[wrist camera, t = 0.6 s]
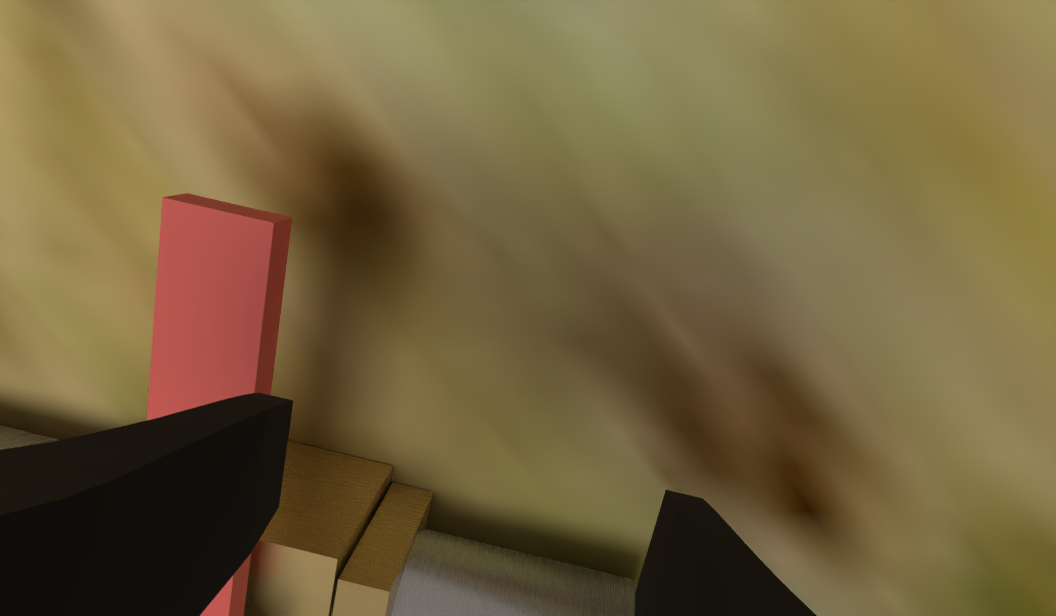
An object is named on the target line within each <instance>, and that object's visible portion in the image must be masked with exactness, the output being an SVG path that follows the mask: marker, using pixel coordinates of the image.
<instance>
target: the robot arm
mask: <svg viewBox="0 0 1056 616" xmlns="http://www.w3.org/2000/svg"><path fill="white" fill-rule="evenodd" d="M292 405H293V401H292V400H288V399H284V398H280V397H275V396H271V395H267V394H263V393H259V392H258V393H251V394H245V395H240V396H236V397H232V398H228V399H224V400H220V401H217V402H213V403H209V404H206V405H202V406H199V407H195V408H191V409H188V410H184V411H181V412H177V413H173V414H170V415H166V416H163V417H159V418H155V419H151V420H147V421H143V422H139V423H135V424H131V425H127V426H122V427H118V428H114V429H110V430H106V431H102V432H97V433H93V434H89V435H84V436H79V437H74V438H69V439H64V440H58V441H53V442H47V443H41V444H34V445H28V446H22V447H16V448H9V449H1V450H0V616H200V615H201V614H202V612H203V611H204V610H205V609H206V608H207V606H208V605H209V604H210V603H211V602H212V600H213V599H214V598H215V597H216V596H217V594H218V593H219V592H220V591H221V589H222V588H223V587H224V586H225V585H226V583H227V582H228V581H229V580H230V578H231V577H232V576H233V575H234V574H235V572H236V571H237V570H238V569H239V567H240V566H241V565H242V564H243V562H244V561H245V560H246V559H247V557H248V556H249V555H250V553H251V552H252V550H253V549H254V547H255V545H256V544H257V542H258V541H259V539H260V538H261V536H262V534H263V533H264V531H265V530H266V528H267V526H268V524H269V523H270V521H271V519H272V518H273V516H274V514H275V513H276V511H277V509H278V508H279V503H280V496H281V488H282V481H283V473H284V466H285V458H286V450H287V443H288V435H289V428H290V420H291V412H292ZM634 616H817V615H816V614H814V613H813V612H812V611H811V610H810V609H809V608H808V607H807V606H806V605H805V604H804V603H803V602H802V601H801V600H800V599H799V598H798V597H797V596H796V595H794V594H793V593H792V592H791V591H790V590H789V589H788V588H787V587H786V586H785V585H784V584H783V583H782V582H781V581H780V580H779V579H778V578H777V577H776V576H775V575H774V574H773V573H772V572H771V570H770V569H769V568H768V567H767V566H766V565H765V564H764V563H763V562H762V561H761V560H760V559H759V558H758V557H757V556H756V555H755V554H754V552H753V551H752V550H751V549H750V548H749V547H748V546H747V545H746V544H745V543H744V542H743V540H742V539H741V538H740V537H739V536H738V535H737V534H736V533H735V532H734V531H733V529H732V528H731V527H730V526H729V525H728V524H727V523H726V522H725V521H724V520H723V518H722V517H721V516H720V515H719V514H718V513H717V512H716V511H715V510H714V509H713V508H712V507H711V506H710V505H709V504H708V503H707V502H706V501H705V500H704V499H702V498H698V497H694V496H690V495H686V494H681V493H677V492H673V491H669V490H666V491H665V495H664V498H663V501H662V505H661V508H660V512H659V515H658V518H657V522H656V525H655V528H654V532H653V535H652V538H651V542H650V545H649V548H648V552H647V555H646V558H645V562H644V565H643V568H642V572H641V575H640V578H639V582H638V585H637V588H636V592H635V612H634Z"/></svg>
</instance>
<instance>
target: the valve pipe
mask: <svg viewBox="0 0 1056 616" xmlns="http://www.w3.org/2000/svg"><path fill="white" fill-rule="evenodd" d="M58 440H59V439H55V438H50V437H46V436H42V435H38V434H34V433H30V432H26V431H22V430H18V429H13V428H9V427H5V426H1V425H0V450H1V449H9V448H16V447H22V446H28V445H34V444H41V443H47V442H53V441H58ZM392 468H393V466H391V465H387V464H383V463H379V462H375V461H371V460H367V459H362V458H358V457H354V456H350V455H346V454H342V453H337V452H333V451H329V450H325V449H321V448H317V447H313V446H308V445H304V444H300V443H296V442H292V441H288V443H287V450H286V458H285V466H284V473H283V481H282V488H281V496H280V503H279V508H278V509H277V511H276V513H275V514H274V516H273V518H272V519H271V521H270V523H269V524H268V526H267V528H266V530H265V531H264V533H263V534H262V536H261V538H260V539H259V541H258V542H257V544H256V545H255V547H254V549H253V550H252V552H251V559H250V567H249V575H248V583H247V592H246V600H245V608H244V616H634V612H635V592H636V588H637V585H638V582H639V581H638V580H634V579H630V578H626V577H621V576H617V575H613V574H609V573H605V572H601V571H597V570H593V569H589V568H584V567H580V566H576V565H572V564H568V563H564V562H560V561H556V560H552V559H547V558H543V557H539V556H535V555H531V554H527V553H523V552H519V551H515V550H510V549H506V548H502V547H498V546H494V545H490V544H486V543H482V542H478V541H474V540H469V539H465V538H461V537H457V536H453V535H449V534H445V533H441V532H437V531H432V530H428V529H426V527H427V522H428V517H429V512H430V507H431V502H432V497H433V492H431V491H427V490H423V489H419V488H415V487H410V486H406V485H402V484H398V483H394V482H393V483H392V485H391V487H390V488H389V485H390V479H391V474H392Z"/></svg>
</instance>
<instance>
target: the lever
mask: <svg viewBox="0 0 1056 616" xmlns="http://www.w3.org/2000/svg"><path fill="white" fill-rule="evenodd" d="M291 223H292V217H288V216H283V215H279V214H275V213H270V212H266V211H262V210H257V209H253V208H248V207H244V206H240V205H235V204H231V203H227V202H222V201H218V200H214V199H209V198H205V197H200V196H196V195H192V194H180V195H174V196H168V197H163V200H162V214H161V228H160V242H159V256H158V270H157V284H156V298H155V312H154V326H153V340H152V355H151V369H150V383H149V397H148V411H147V420H151V419H155V418H159V417H163V416H166V415H170V414H173V413H177V412H181V411H184V410H188V409H191V408H195V407H199V406H202V405H206V404H209V403H213V402H217V401H220V400H224V399H228V398H232V397H236V396H240V395H245V394H251V393H258V392H259V393H263V394H267V395H271V387H272V378H273V370H274V362H275V354H276V346H277V337H278V329H279V321H280V313H281V305H282V296H283V288H284V280H285V272H286V264H287V255H288V247H289V239H290V231H291ZM250 559H251V553H250V555H249V556H248V557H247V559H246V560H245V561H244V562H243V564H242V565H241V566H240V567H239V569H238V570H237V571H236V572H235V574H234V575H233V576H232V577H231V578H230V580H229V581H228V582H227V583H226V585H225V586H224V587H223V588H222V589H221V591H220V592H219V593H218V594H217V596H216V597H215V598H214V599H213V600H212V602H211V603H210V604H209V605H208V606H207V608H206V609H205V610H204V611H203V612H202V614H201V615H200V616H244V608H245V600H246V592H247V583H248V575H249V567H250Z"/></svg>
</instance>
